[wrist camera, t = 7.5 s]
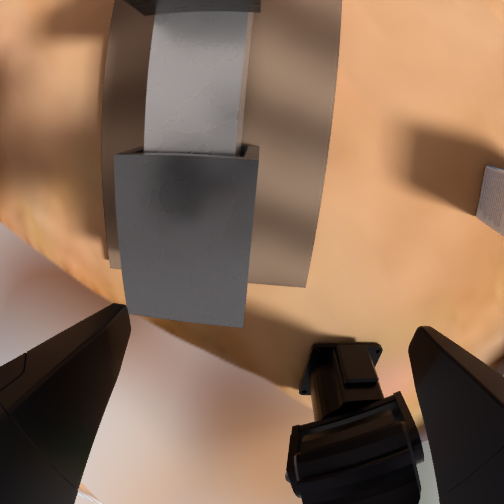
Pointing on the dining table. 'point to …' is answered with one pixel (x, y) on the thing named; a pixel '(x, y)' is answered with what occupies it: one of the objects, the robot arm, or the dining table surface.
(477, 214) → the medicine box
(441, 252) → the dining table surface
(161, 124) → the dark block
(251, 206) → the outer sleeve
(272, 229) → the base board
